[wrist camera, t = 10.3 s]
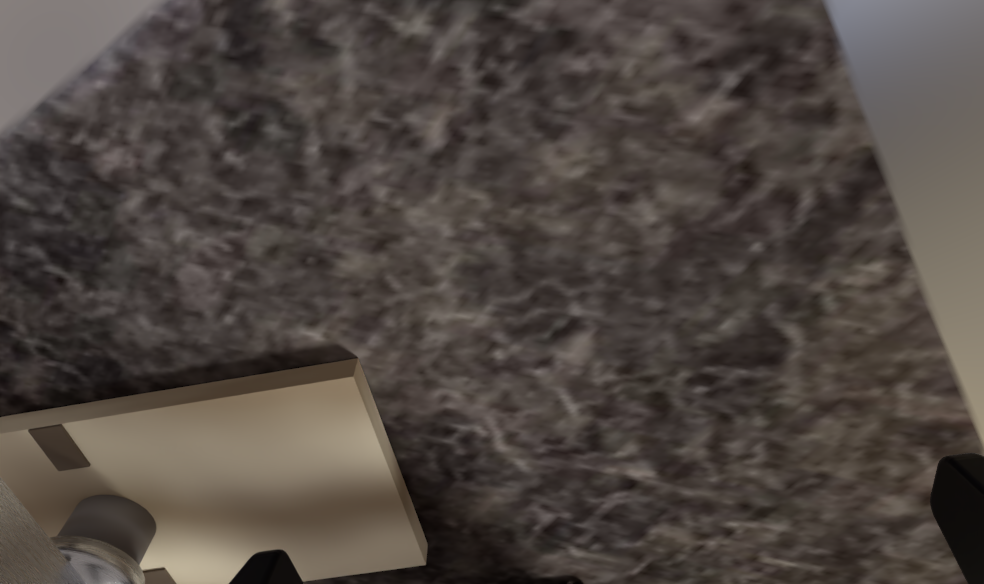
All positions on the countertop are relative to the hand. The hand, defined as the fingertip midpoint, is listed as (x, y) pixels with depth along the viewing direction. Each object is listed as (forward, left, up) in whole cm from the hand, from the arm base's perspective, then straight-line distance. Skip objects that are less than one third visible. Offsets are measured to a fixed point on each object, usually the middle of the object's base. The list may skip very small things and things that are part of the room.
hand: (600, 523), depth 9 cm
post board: (-10, +18, -12) cm, 24 cm away
